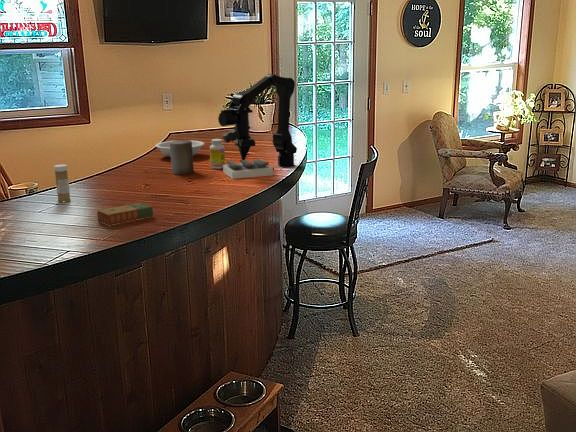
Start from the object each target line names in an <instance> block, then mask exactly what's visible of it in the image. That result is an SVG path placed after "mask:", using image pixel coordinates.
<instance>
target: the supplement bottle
mask: <svg viewBox="0 0 576 432" xmlns="http://www.w3.org/2000/svg"><path fill="white" fill-rule="evenodd" d="M225 151H226V149H225V146H224V145H223V138H221V139H220V138H214V139H211V145H210V146H209V157H210V158H209V161H210V168H211V169H214V170H218V169H223V165H226V153H225Z"/></svg>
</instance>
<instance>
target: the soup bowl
mask: <svg viewBox="0 0 576 432" xmlns="http://www.w3.org/2000/svg"><path fill="white" fill-rule="evenodd" d="M189 140H190V139H189ZM172 141H173V140H169V141H163V142H159V143H156V144H155V147H156V148H158V149H159V151H160V152H161V153H162V154H163V155H165V156H166V157H169V158H171V153H170V142H172ZM190 141H192V153H193V156H194V155H196V154H197V153H198V152H199V151H200V150H201V149H202V147H203V146H204V145H205V141H204V142H203V141H200V140H190Z"/></svg>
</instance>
